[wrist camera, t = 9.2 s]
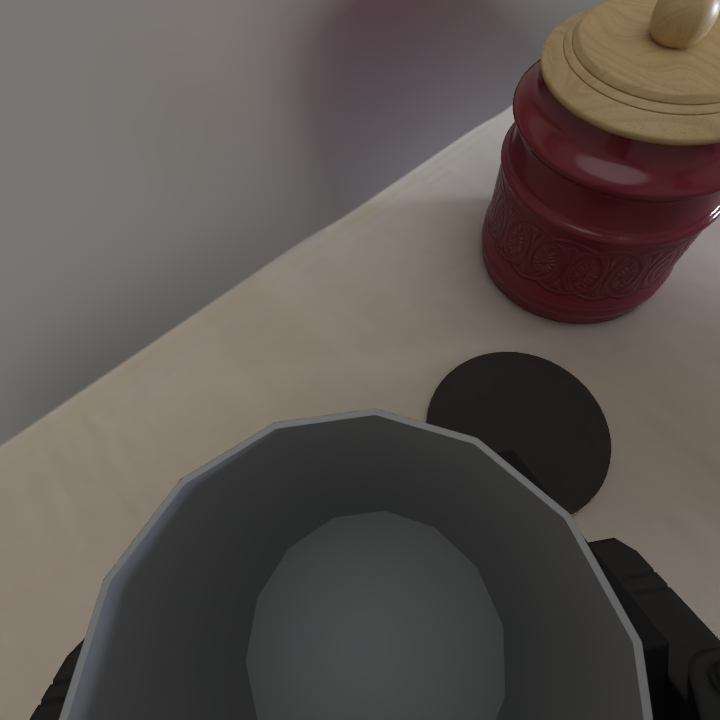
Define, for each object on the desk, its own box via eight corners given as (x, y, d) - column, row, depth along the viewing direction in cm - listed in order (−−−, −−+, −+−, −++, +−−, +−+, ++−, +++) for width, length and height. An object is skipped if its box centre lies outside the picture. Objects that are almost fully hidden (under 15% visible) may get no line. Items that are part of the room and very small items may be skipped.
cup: (329, 886, 13) (194, 1456, 4) (208, 602, 17) (-6, 591, 8) (562, 687, 15) (810, 800, 6) (407, 468, 18) (420, 334, 9)
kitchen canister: (450, 220, 38) (491, -52, 23) (594, 174, 40) (726, -111, 24) (532, 353, 32) (664, 109, 17) (698, 293, 34) (963, 18, 18)
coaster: (622, 386, 31) (625, 383, 30) (589, 556, 26) (592, 556, 26) (456, 334, 33) (457, 330, 33) (400, 481, 29) (400, 479, 28)
